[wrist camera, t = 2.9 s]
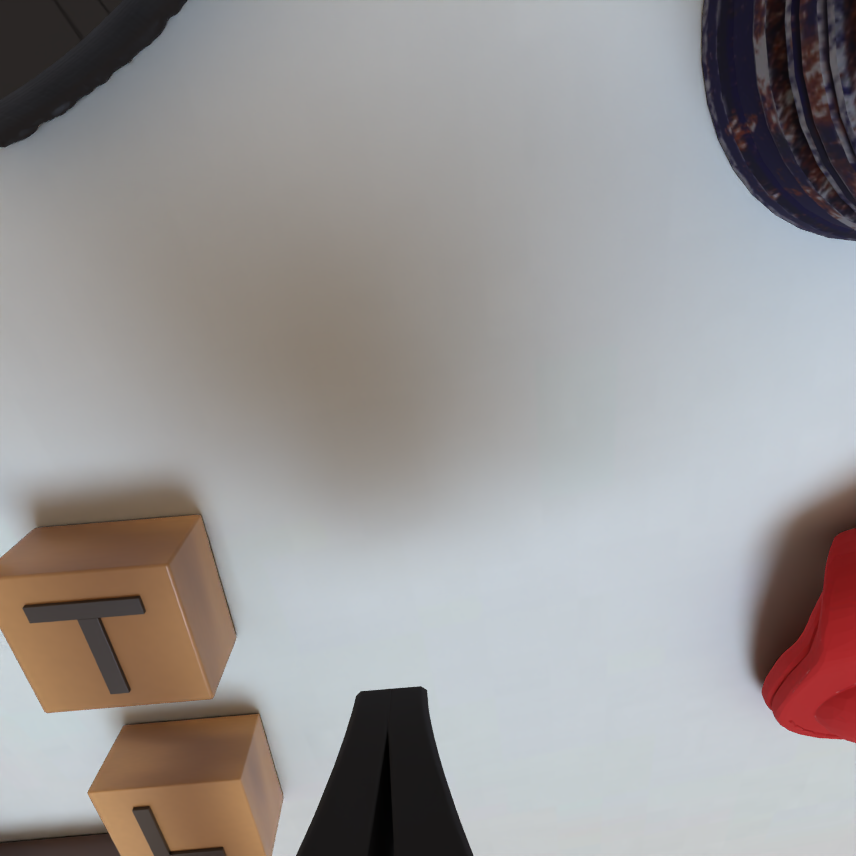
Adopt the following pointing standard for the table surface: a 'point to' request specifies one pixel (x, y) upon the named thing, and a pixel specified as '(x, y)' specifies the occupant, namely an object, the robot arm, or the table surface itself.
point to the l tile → (190, 789)
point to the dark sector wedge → (66, 53)
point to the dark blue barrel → (787, 104)
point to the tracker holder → (822, 657)
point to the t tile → (116, 613)
